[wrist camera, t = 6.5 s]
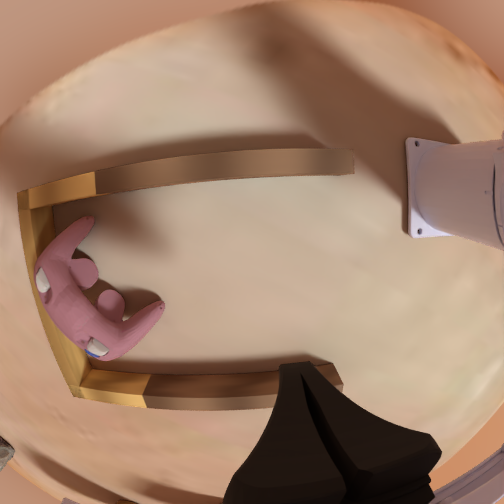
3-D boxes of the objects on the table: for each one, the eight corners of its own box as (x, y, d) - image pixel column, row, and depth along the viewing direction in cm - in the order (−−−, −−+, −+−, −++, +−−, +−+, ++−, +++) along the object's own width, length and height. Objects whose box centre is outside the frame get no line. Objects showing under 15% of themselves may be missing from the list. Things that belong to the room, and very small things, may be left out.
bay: (336, 154, 18) (352, 149, 15) (331, 376, 22) (341, 397, 19) (39, 190, 17) (17, 192, 14) (85, 378, 21) (73, 396, 18)
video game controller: (76, 235, 20) (16, 278, 14) (91, 205, 17) (18, 250, 12) (148, 322, 22) (101, 380, 16) (175, 306, 19) (120, 375, 14)
